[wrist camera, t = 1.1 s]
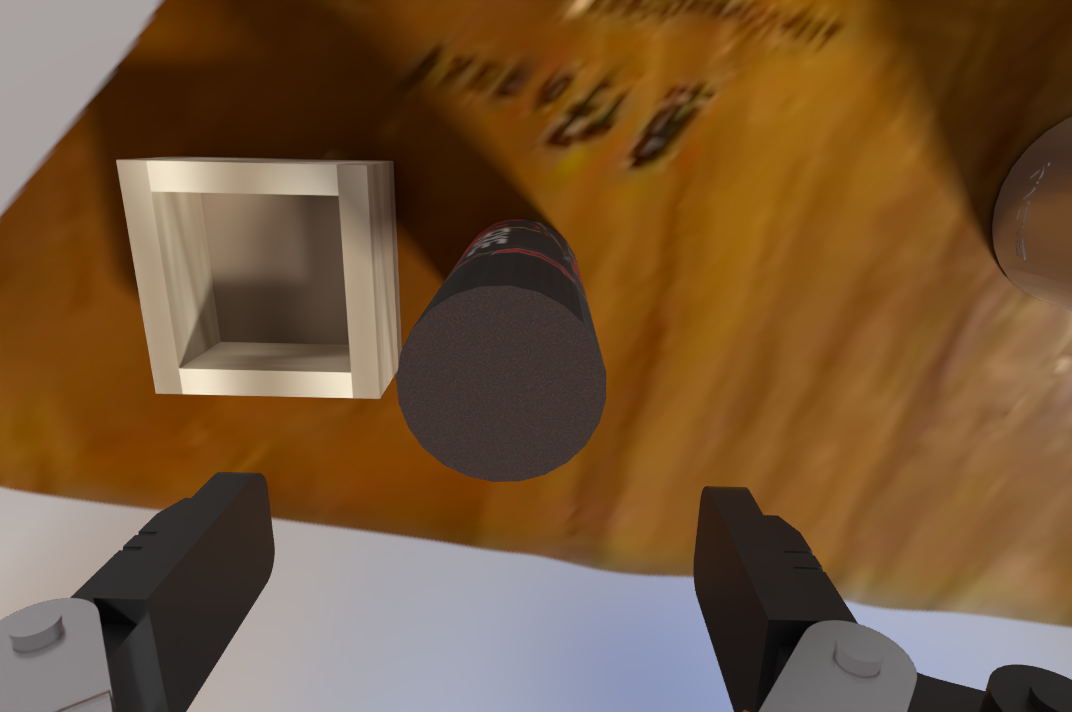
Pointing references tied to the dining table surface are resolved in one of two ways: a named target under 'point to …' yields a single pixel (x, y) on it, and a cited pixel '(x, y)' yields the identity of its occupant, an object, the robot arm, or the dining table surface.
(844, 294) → the dining table surface
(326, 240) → the white wooden box
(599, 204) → the dining table surface
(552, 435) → the deodorant
